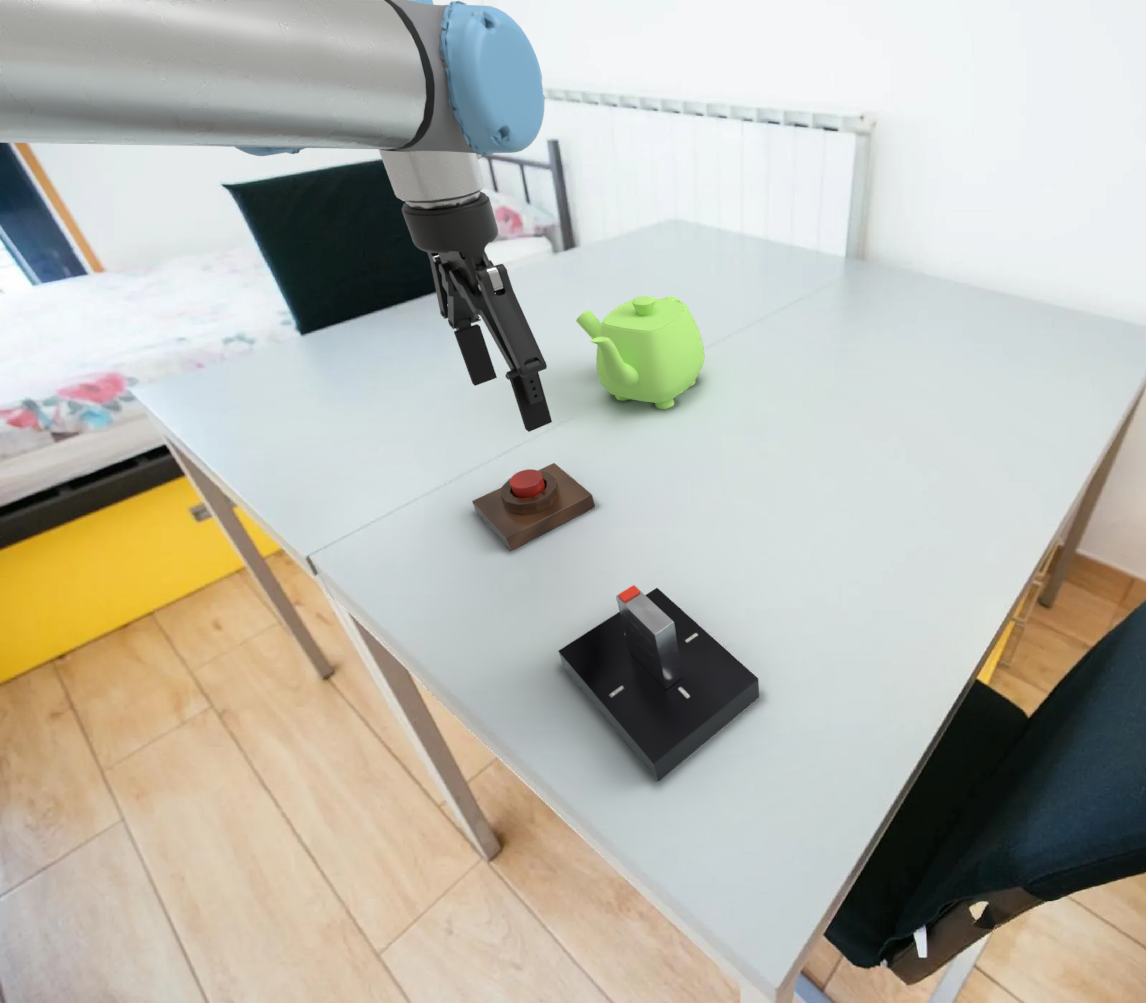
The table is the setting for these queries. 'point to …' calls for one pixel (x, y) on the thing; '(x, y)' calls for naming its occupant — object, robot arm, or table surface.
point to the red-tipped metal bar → (650, 636)
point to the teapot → (646, 349)
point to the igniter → (533, 508)
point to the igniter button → (527, 483)
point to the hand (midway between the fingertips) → (510, 402)
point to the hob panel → (661, 688)
